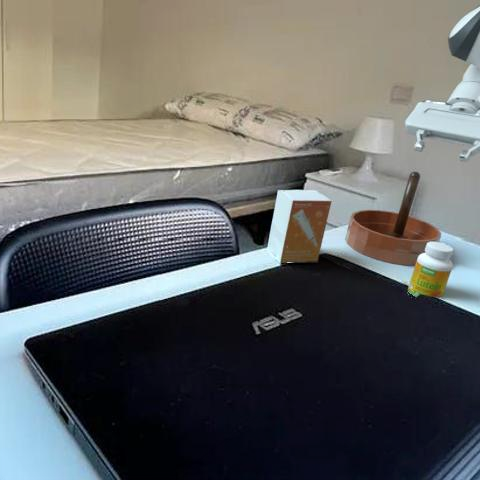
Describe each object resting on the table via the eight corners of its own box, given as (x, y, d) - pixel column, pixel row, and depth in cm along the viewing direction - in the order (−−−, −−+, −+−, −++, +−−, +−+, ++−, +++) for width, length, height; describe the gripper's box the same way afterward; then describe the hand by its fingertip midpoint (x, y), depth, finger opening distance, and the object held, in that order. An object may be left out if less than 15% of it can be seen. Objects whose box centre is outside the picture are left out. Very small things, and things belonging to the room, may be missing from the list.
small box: (279, 265, 94) (292, 200, 89) (265, 251, 100) (277, 189, 95) (318, 264, 96) (332, 200, 91) (302, 250, 102) (315, 189, 96)
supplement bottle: (407, 299, 85) (423, 248, 82) (406, 286, 90) (421, 237, 86) (442, 308, 84) (460, 255, 80) (438, 294, 88) (456, 244, 84)
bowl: (444, 255, 105) (453, 229, 103) (412, 277, 94) (421, 248, 92) (367, 229, 116) (373, 204, 114) (329, 245, 105) (336, 219, 103)
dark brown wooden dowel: (412, 245, 107) (434, 173, 101) (402, 250, 104) (424, 176, 97) (388, 236, 110) (408, 167, 104) (378, 242, 107) (397, 170, 101)
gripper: (419, 89, 114) (390, 135, 112) (523, 103, 101) (492, 156, 98) (421, 108, 119) (393, 152, 116) (520, 124, 106) (491, 175, 103)
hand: (439, 154), depth 107 cm, fingers open, 8 cm apart
